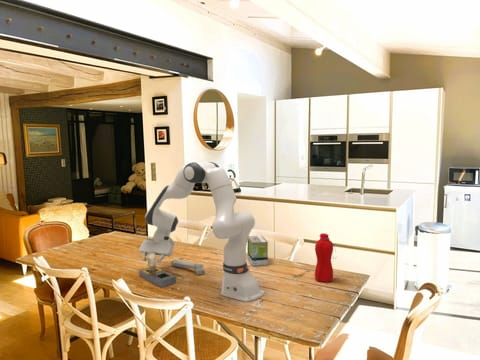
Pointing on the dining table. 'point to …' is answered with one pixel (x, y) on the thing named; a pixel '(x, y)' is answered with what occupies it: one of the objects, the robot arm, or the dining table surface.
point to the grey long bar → (189, 266)
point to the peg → (151, 262)
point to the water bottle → (324, 259)
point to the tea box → (257, 250)
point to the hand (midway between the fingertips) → (151, 261)
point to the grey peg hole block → (158, 277)
